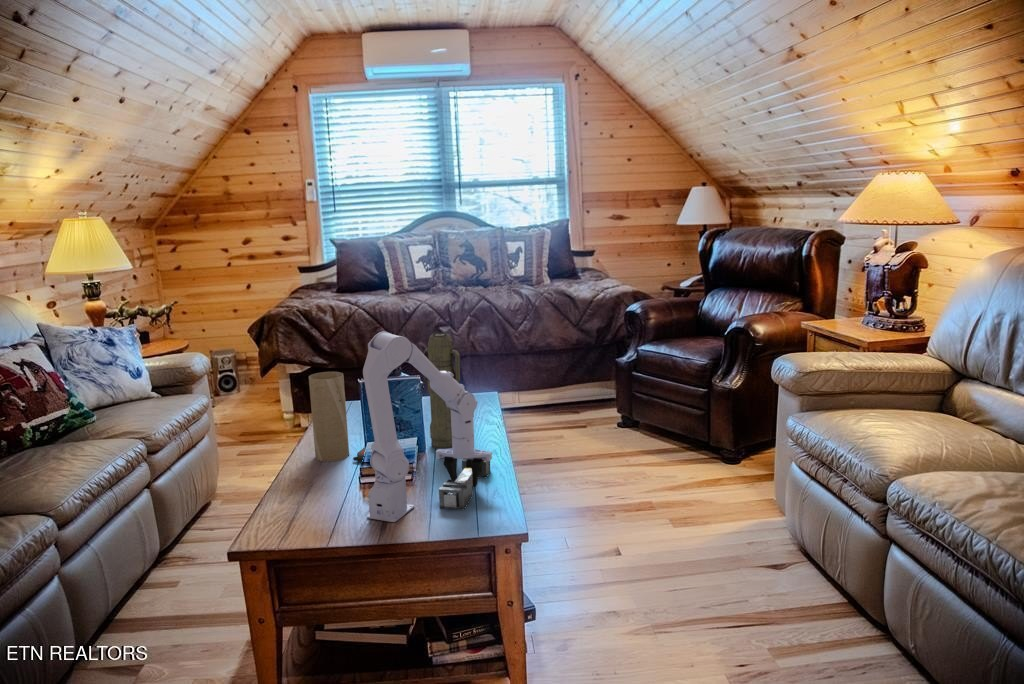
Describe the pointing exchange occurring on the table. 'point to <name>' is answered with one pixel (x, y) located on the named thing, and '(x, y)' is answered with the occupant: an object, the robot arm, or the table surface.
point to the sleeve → (463, 492)
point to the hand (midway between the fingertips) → (465, 485)
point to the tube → (329, 416)
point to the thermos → (440, 413)
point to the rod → (451, 497)
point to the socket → (483, 471)
